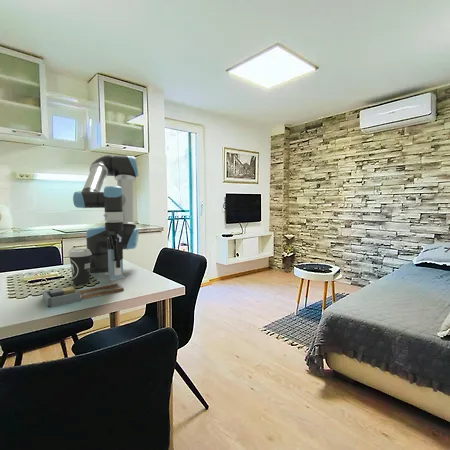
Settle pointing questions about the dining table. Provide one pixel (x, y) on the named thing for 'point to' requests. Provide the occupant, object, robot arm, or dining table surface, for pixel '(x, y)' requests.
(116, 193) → the robot arm
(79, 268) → the coffee cup
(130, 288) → the dining table surface
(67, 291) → the chip brass
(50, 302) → the tray
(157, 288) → the dining table surface
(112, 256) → the blue grey rectangular box
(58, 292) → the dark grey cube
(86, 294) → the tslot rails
